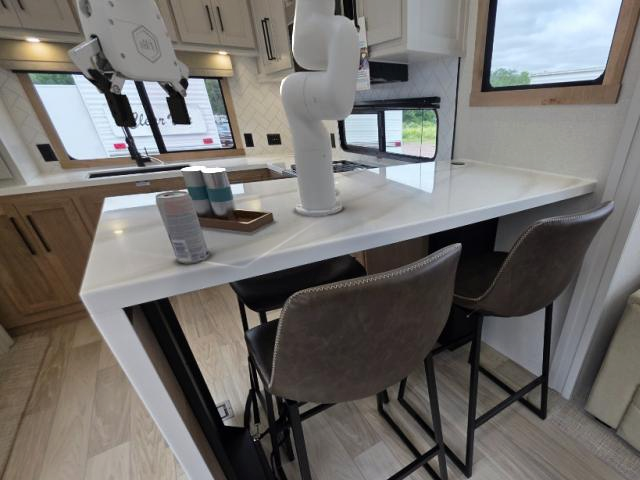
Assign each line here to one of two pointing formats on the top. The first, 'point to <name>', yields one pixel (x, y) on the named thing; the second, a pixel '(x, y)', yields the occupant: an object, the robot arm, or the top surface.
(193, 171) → the can
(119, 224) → the top surface
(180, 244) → the energy drink
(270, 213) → the drinks tray
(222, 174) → the can
